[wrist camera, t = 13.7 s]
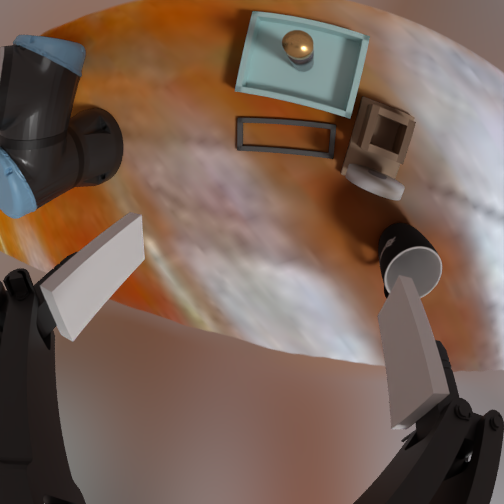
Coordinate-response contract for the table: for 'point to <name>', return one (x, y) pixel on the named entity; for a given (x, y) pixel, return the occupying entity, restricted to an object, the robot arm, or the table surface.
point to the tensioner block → (378, 148)
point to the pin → (299, 49)
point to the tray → (296, 82)
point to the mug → (408, 258)
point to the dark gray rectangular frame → (285, 150)
